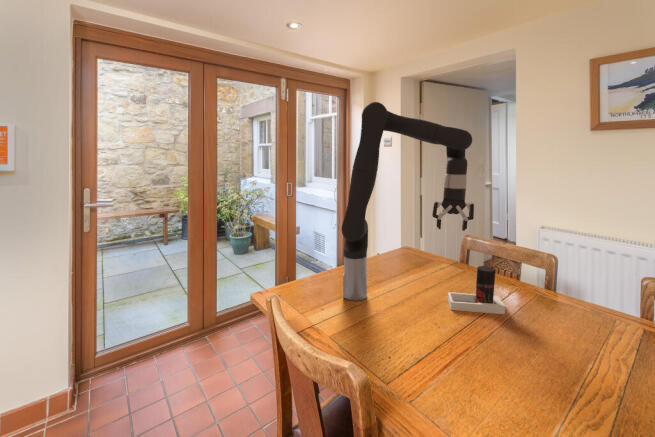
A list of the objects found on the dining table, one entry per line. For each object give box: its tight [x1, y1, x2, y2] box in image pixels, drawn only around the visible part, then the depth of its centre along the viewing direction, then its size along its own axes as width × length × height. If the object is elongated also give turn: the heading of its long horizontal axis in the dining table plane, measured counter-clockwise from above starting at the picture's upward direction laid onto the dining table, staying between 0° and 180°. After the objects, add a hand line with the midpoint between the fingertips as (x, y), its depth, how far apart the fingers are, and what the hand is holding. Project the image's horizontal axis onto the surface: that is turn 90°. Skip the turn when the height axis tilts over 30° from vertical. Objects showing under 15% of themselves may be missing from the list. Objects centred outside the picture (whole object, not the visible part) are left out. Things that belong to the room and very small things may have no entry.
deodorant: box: [475, 265, 496, 304], centre depth 116 cm, size 6×6×15 cm
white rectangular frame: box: [447, 291, 506, 315], centre depth 118 cm, size 18×9×3 cm, turn 77°
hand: (451, 229), depth 120 cm, fingers open, 8 cm apart
